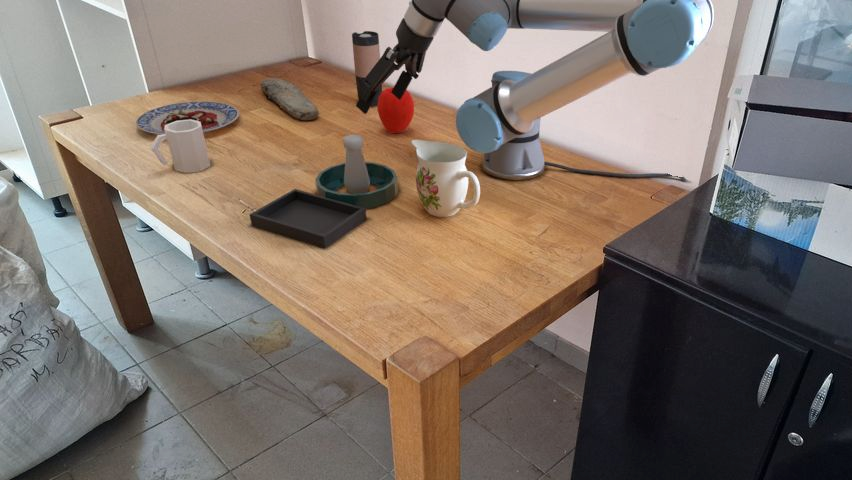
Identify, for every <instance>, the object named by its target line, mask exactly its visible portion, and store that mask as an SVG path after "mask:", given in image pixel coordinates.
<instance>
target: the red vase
mask: <svg viewBox="0 0 852 480" xmlns="http://www.w3.org/2000/svg"><path fill="white" fill-rule="evenodd" d="M393 88H394V87H390V88H385V89H382V92H381V94H380V96H379V99H378V106H376V108H377V113H378V117H379V121H380V122H381V124H382V125H383V127H384V128H385V129H386V130H387V131H388V132H389V133H390V134H398V133H399V134H400V133H402V132H404V131H406V130H407V128H408V127H409V126H410V124H411V122H412V120H413V117H414V115H415V102H414V99H413V97H412V95H411V92H409V91H408V90H407V89H406V91H405V93H404V95H403V96H402V98H401V99H400V100H399V99H398V98H397V97H396V96H395V95H394V94H393V93H391V91H392V90H393Z"/></svg>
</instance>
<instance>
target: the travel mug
mask: <svg viewBox="0 0 852 480" xmlns="http://www.w3.org/2000/svg"><path fill="white" fill-rule="evenodd" d="M379 36H380V35H379V33H378V32H376V31H372V30H365V31H363V32H361V33H358V31H357V32H356V31H355V32H353V33H351V38H352V39H351V41H352V53H353V66H354V77H355V84H356V93H357V100H358V101H359V99H360V97H361V95H362V93H363V91H364V89H365V87H364V86H363V85H362V84H361V83H362V81H363V80H364V79H365V77H366V76H367V75H368V74H369V72H370V71H371V70H372V68H373V67H374V66H375V65H376V63H377V62H378V61H379V59H380V58H381V50H380V49H381V48H380V39H379V38H380V37H379ZM377 91H378V93H377V95H376V97H375V98H374V100H373V102H372V104H371V106H370V108H371V107H372V108H373V107H377V106H378V99H379V96H380V94H381V92H382V91H383V84H382V85H381V86H380V87H379V88H378V89H377ZM358 101H357V102H358Z"/></svg>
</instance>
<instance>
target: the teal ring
mask: <svg viewBox="0 0 852 480" xmlns="http://www.w3.org/2000/svg"><path fill="white" fill-rule="evenodd" d="M365 164H366V168H367V171H368V175H369V179H370V185H372V186H376V188H377V189H375V190H372V191H367V192H366V193H358V194H350V193H349V192H338V190H340V189H341V188H343V187H345V185H344V172H345V162H342V163H337V164H335V165H334V164H333V165H330V166H328V167H327V168H325V169H323V170H321V171H320V172H318V174H317V175H316V177H315V187H316V195H319V196H323V197H326V198H330V199H334V200H337V201H341V202H345V203H348V204H352V205H356V206H359V207H363V208H366V210H367V209H374V208H377V207H379V206H382V205H385V204H388V203H389V202H390V201H392V200H393V199H395V198H396V197H397V194H398V192H399V183H398V182H399V181H398V175H397V173H396V170H395V169H393V168H391V167H390V166H387V165H386V164H382V163H378V162H374V161H365Z"/></svg>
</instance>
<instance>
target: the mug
mask: <svg viewBox="0 0 852 480" xmlns="http://www.w3.org/2000/svg"><path fill="white" fill-rule="evenodd" d="M164 131H165V134H162V135H159V134H156V135H157V136H156V137H155V138H154V140H153V142H152V144H151V145H150V149H151V151H152V152H153V153H154V155H155V156H156V158H157V159H158V161H159V162H160V163H161V164H162V166H166V165H167V164H168V163H169V162H168V161H167V159H166V158H165V157H164V155H163V154H162V153H161V151H160V150H159V149H160V147H161V145H162V143H163V141H166V142H167V146H168V150H169V153H170V158H171V160H172V161H171V162H172V164H173V169H174V170H175V171H177V172H179V173H184V174H189V173H198V172H202V171H204V170H206V169H207V168H209V167H211V160H210V157H209V152H208V148H207V147H208V146H207V143H206V139H205V134H204V133H203V130H202V126H201V122H199V121H195V120H179V121H175V122H172V123H169V124H167V125H165V128H164Z"/></svg>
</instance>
